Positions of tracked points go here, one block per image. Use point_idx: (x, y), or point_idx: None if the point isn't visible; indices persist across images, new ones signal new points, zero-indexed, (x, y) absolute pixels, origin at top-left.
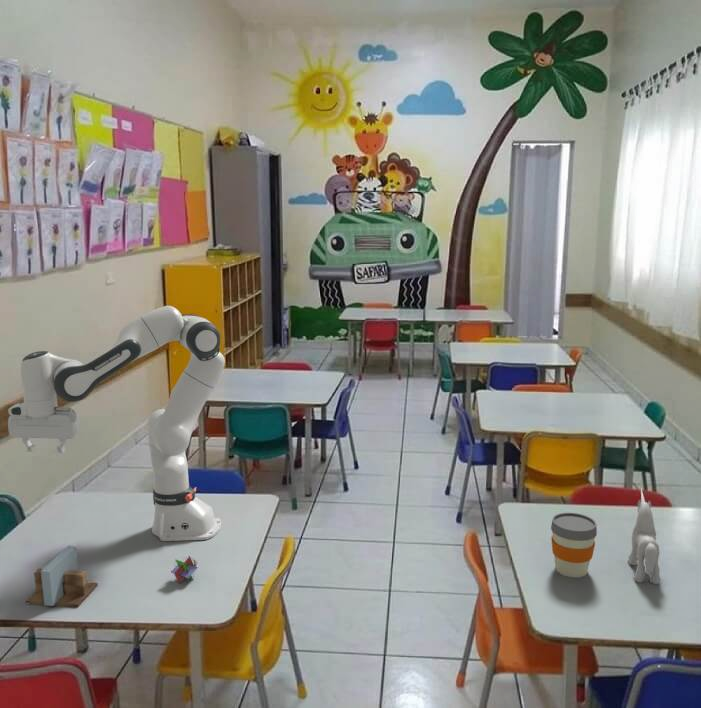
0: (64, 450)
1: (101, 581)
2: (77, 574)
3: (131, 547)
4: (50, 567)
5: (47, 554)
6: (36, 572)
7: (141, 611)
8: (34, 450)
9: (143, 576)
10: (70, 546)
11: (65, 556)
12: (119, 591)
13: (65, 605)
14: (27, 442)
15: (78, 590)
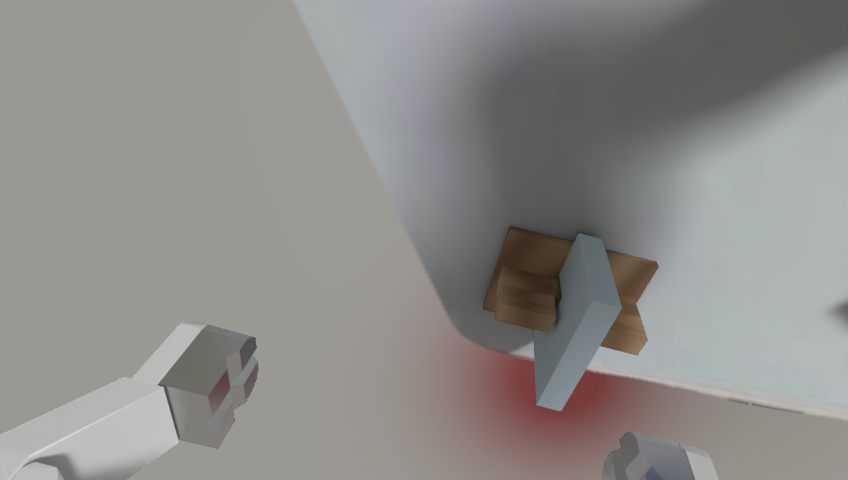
0: (701, 465)
1: (667, 244)
2: (622, 349)
3: (801, 19)
4: (559, 396)
5: (456, 49)
6: (502, 321)
7: (766, 374)
8: (254, 342)
9: (805, 238)
10: (601, 305)
11: (593, 355)
12: (718, 296)
13: None
14: (105, 468)
15: None
